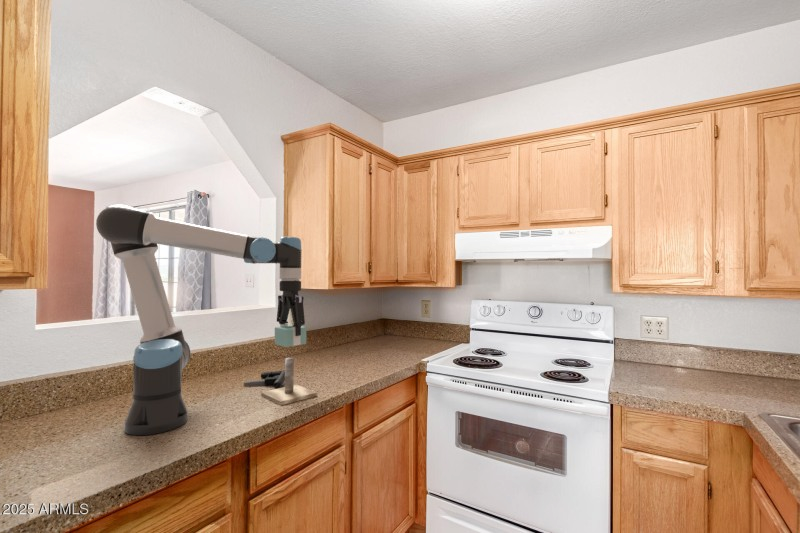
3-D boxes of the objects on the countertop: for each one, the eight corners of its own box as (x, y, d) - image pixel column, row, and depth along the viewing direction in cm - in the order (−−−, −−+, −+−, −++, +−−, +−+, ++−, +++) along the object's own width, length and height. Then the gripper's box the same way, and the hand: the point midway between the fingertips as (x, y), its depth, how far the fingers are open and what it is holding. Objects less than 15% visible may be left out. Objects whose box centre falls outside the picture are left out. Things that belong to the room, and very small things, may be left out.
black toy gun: (239, 384, 140) (283, 381, 142) (253, 371, 160) (291, 368, 162) (239, 393, 140) (284, 389, 142) (253, 379, 159) (292, 375, 162)
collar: (286, 347, 129) (286, 329, 129) (274, 344, 135) (274, 327, 135) (306, 343, 135) (306, 327, 135) (294, 341, 140) (294, 325, 141)
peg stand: (280, 405, 124) (281, 365, 125) (261, 395, 134) (261, 358, 134) (316, 395, 134) (317, 358, 135) (296, 387, 144) (296, 353, 144)
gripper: (315, 280, 131) (315, 345, 130) (285, 279, 145) (284, 338, 145) (296, 280, 125) (296, 348, 125) (266, 279, 140) (266, 341, 139)
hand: (290, 343), depth 135 cm, fingers closed on collar, 8 cm apart
